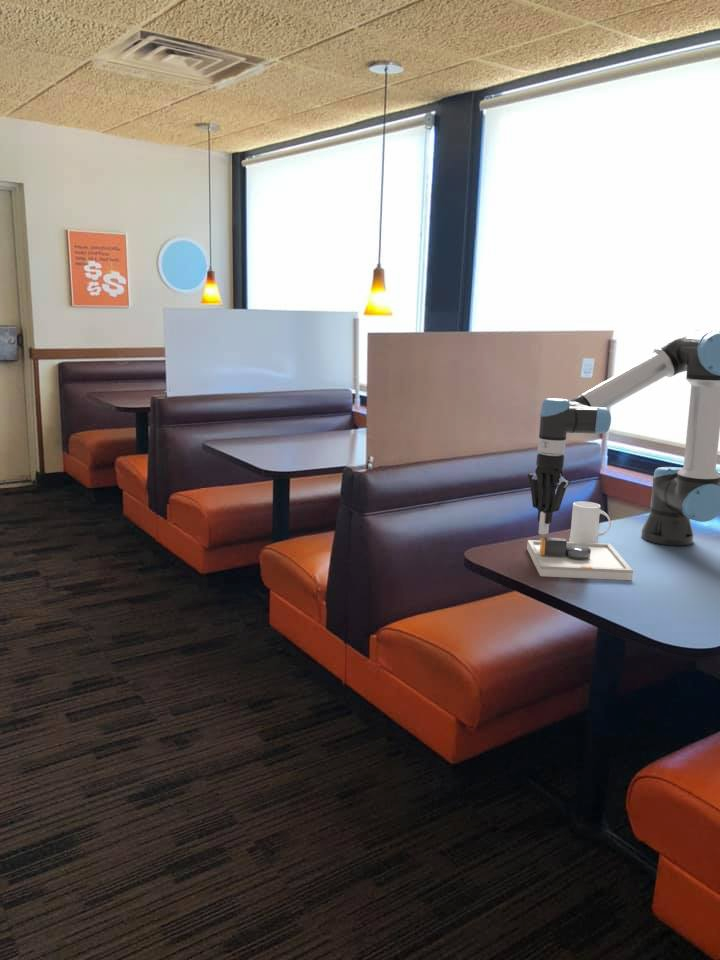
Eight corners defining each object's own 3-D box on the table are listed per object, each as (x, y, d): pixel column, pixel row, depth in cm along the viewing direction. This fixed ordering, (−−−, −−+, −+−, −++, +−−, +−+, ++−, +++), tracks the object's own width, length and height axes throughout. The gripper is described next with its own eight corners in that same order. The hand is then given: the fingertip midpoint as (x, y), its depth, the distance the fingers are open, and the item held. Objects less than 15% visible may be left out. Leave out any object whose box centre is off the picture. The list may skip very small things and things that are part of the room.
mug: (611, 543, 234) (615, 505, 232) (603, 550, 227) (607, 511, 225) (574, 536, 241) (577, 499, 238) (565, 542, 234) (568, 505, 231)
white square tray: (609, 552, 225) (610, 542, 224) (631, 580, 201) (633, 569, 201) (526, 549, 226) (527, 539, 226) (540, 576, 203) (541, 565, 202)
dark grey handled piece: (587, 552, 217) (588, 537, 216) (592, 559, 210) (594, 544, 209) (538, 549, 217) (539, 535, 216) (542, 557, 211) (543, 542, 210)
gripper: (524, 450, 218) (517, 530, 223) (562, 458, 209) (554, 541, 214) (539, 448, 223) (532, 526, 228) (578, 455, 213) (570, 536, 218)
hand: (543, 533), depth 221 cm, fingers closed
